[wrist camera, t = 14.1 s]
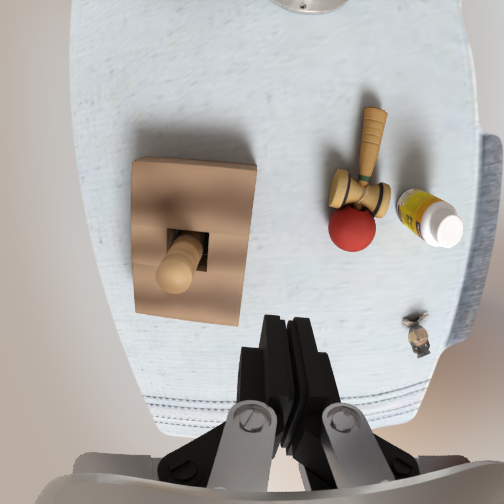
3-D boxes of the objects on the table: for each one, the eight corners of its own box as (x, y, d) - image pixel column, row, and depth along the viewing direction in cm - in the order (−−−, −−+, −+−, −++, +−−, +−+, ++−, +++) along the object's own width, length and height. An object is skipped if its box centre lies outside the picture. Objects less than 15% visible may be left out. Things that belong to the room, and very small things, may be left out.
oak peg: (181, 220, 40) (154, 257, 29) (209, 223, 40) (192, 262, 29) (180, 247, 41) (155, 292, 30) (207, 250, 42) (191, 296, 31)
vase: (424, 336, 48) (435, 358, 42) (397, 342, 49) (406, 365, 43) (428, 312, 46) (441, 334, 40) (400, 318, 47) (411, 341, 41)
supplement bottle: (387, 206, 39) (423, 231, 30) (414, 179, 37) (456, 197, 28) (408, 233, 40) (444, 263, 31) (434, 207, 39) (474, 231, 29)
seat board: (146, 156, 37) (132, 161, 32) (256, 165, 37) (257, 171, 33) (146, 294, 44) (135, 312, 40) (239, 306, 45) (238, 326, 40)
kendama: (334, 104, 35) (309, 240, 40) (359, 96, 29) (330, 254, 34) (383, 121, 37) (359, 247, 42) (411, 118, 31) (384, 261, 36)
